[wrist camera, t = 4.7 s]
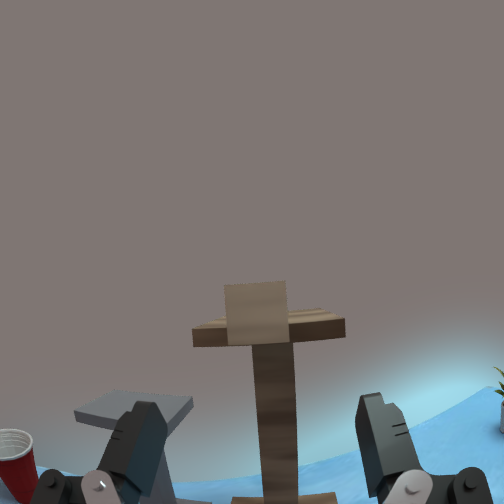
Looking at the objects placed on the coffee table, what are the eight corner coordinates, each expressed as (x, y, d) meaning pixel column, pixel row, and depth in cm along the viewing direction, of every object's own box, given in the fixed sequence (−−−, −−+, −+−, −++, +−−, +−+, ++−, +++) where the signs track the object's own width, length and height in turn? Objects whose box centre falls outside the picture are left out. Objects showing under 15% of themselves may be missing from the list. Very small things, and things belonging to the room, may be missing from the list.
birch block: (261, 313, 38) (260, 289, 38) (285, 311, 38) (283, 288, 38) (228, 345, 14) (223, 285, 15) (289, 342, 14) (285, 280, 14)
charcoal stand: (144, 497, 34) (117, 387, 37) (212, 508, 33) (194, 394, 36) (113, 536, 22) (68, 412, 25) (194, 555, 21) (160, 430, 24)
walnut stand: (233, 502, 34) (213, 315, 39) (334, 497, 33) (334, 306, 37) (214, 568, 19) (168, 329, 23) (348, 564, 17) (368, 315, 22)
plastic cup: (-8, 493, 19) (-33, 436, 21) (29, 476, 30) (10, 423, 31) (27, 522, 17) (-3, 461, 19) (66, 497, 28) (44, 441, 30)
